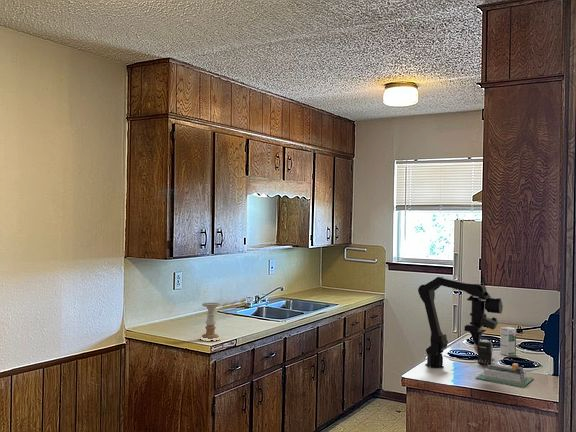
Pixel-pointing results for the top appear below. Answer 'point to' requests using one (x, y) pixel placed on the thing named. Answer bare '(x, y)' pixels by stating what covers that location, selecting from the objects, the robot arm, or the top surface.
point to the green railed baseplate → (505, 376)
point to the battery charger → (485, 352)
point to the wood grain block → (514, 367)
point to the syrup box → (508, 341)
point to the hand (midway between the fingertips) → (477, 345)
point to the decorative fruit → (476, 347)
